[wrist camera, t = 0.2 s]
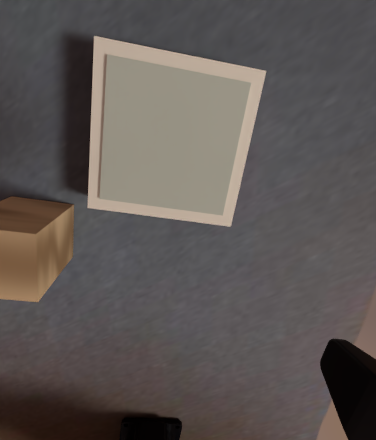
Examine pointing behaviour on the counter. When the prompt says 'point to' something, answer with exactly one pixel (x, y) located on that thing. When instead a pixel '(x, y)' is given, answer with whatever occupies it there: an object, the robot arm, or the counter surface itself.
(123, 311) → the counter surface
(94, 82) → the tile base
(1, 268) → the oak block
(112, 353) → the counter surface
